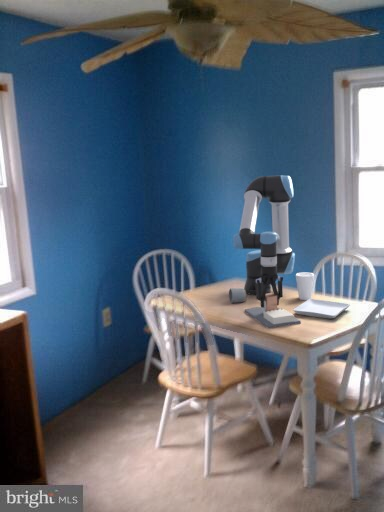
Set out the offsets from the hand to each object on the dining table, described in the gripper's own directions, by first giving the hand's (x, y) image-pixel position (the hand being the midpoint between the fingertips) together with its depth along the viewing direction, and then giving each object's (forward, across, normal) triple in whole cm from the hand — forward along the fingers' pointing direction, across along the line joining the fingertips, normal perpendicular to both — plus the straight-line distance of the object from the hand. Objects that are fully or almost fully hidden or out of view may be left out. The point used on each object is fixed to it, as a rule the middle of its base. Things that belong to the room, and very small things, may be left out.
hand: (269, 312), depth 253 cm
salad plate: (+2, +25, -4) cm, 26 cm away
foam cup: (+2, +30, +22) cm, 37 cm away
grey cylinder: (+2, -5, +32) cm, 32 cm away
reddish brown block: (0, 0, 0) cm, 0 cm away
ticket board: (+2, 0, -1) cm, 2 cm away
